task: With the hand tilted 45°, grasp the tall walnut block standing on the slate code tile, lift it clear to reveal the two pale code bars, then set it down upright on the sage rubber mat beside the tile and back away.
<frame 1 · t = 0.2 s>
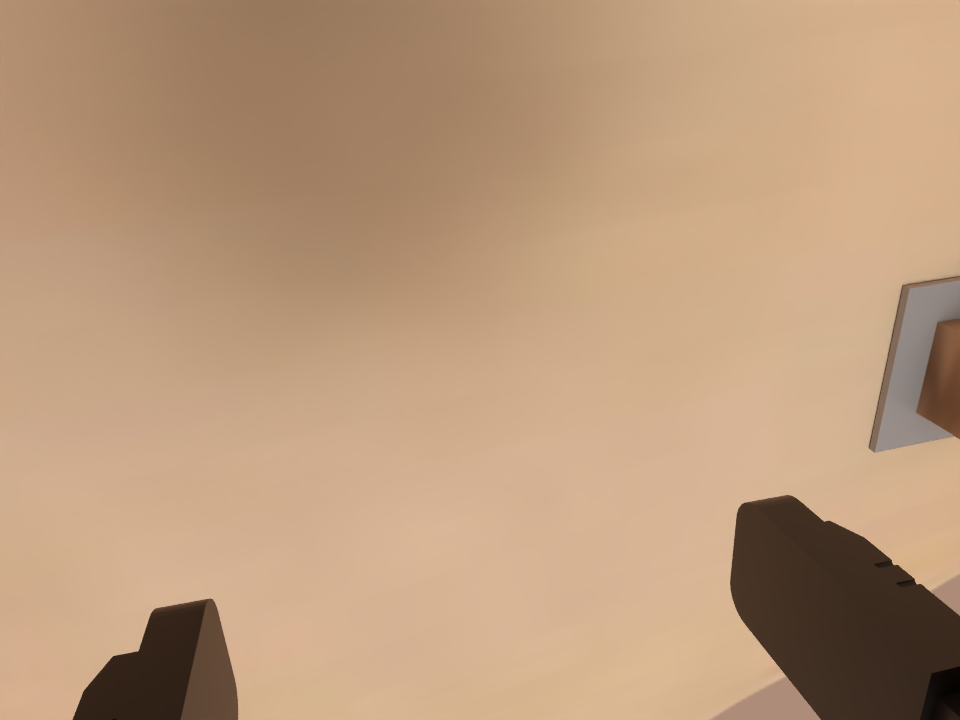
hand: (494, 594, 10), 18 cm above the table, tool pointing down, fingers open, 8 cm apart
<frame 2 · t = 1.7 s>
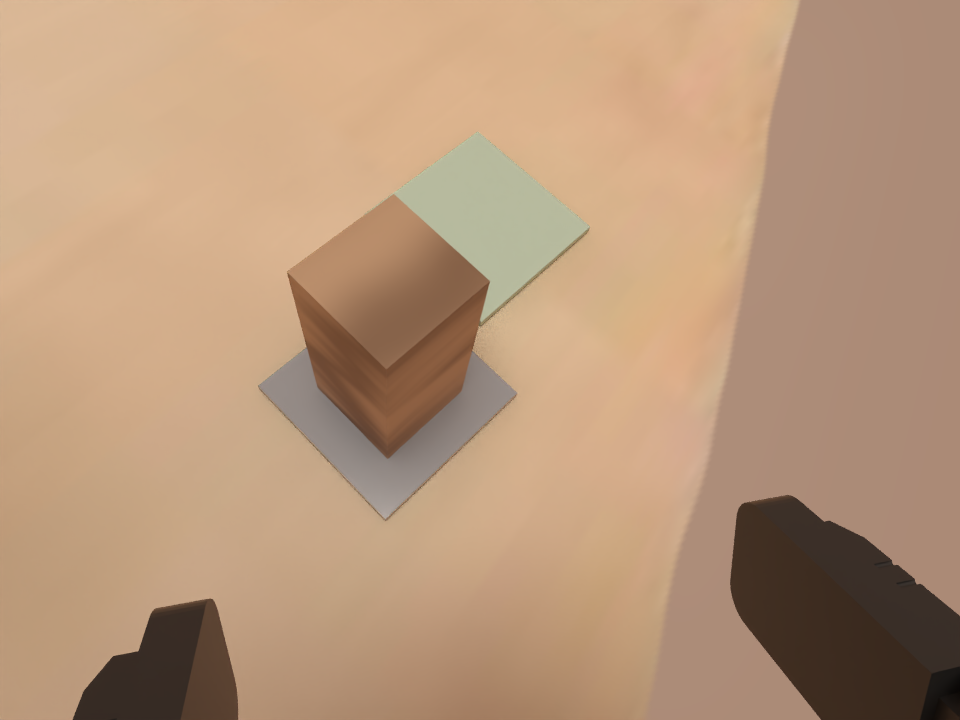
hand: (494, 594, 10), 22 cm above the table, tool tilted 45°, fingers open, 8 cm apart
sage mat: (478, 225, 39), on the table
walnut block: (390, 389, 34), resting on code tile
code tile: (390, 392, 35), on the table
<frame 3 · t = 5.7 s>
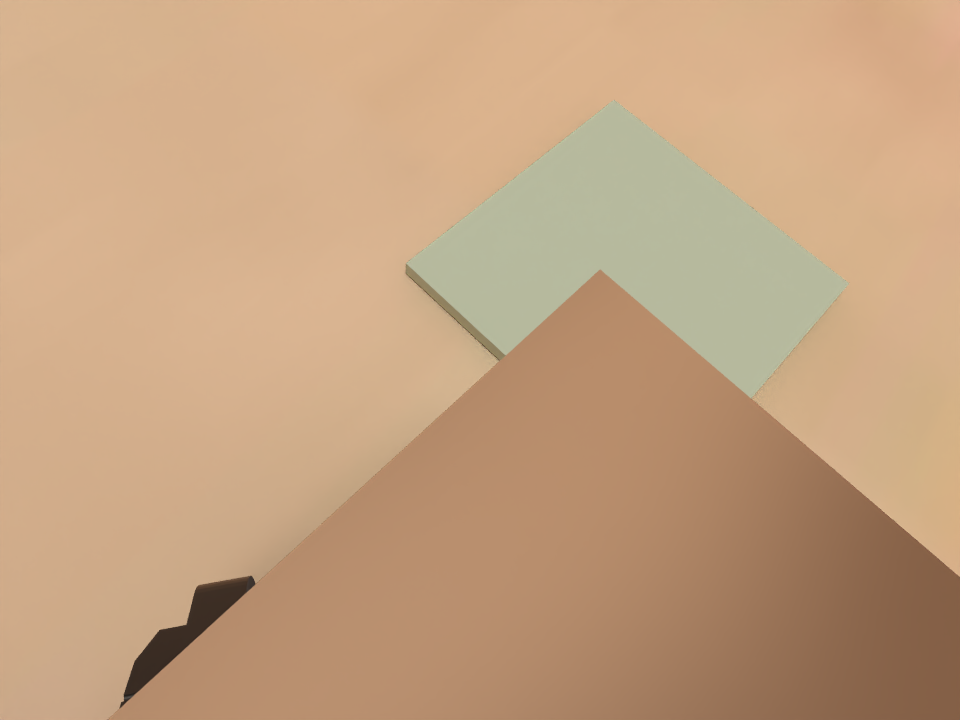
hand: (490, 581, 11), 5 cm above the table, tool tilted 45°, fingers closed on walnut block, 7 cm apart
sage mat: (629, 282, 20), on the table
walnut block: (476, 682, 15), resting on code tile, touching gripper
when the fingers open (7 cm above the table, at t = 11.8 s): walnut block drops 1 cm, resting on sage mat.
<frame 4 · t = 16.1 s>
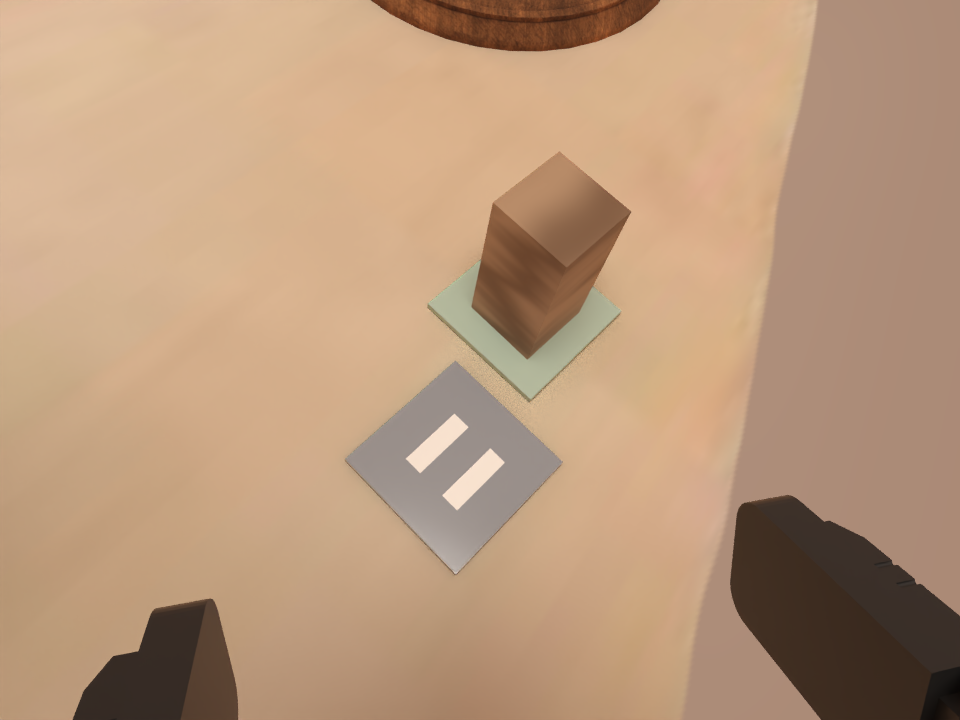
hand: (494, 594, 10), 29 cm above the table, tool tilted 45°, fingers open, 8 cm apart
sage mat: (524, 310, 45), on the table
walnut block: (525, 309, 45), resting on sage mat
code tile: (455, 462, 41), on the table
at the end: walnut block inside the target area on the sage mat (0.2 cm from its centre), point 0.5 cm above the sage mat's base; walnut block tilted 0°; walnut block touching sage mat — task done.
